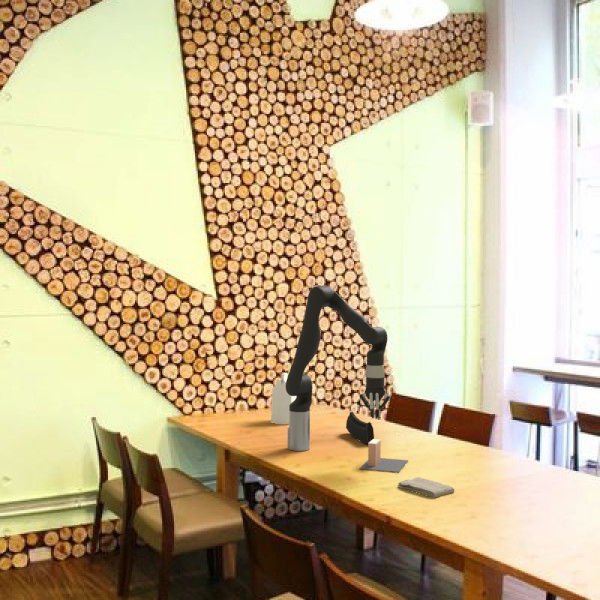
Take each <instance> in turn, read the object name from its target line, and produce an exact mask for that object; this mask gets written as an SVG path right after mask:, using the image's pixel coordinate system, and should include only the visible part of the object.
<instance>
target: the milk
mask: <svg viewBox="0 0 600 600" xmlns="http://www.w3.org/2000/svg"><path fill="white" fill-rule="evenodd" d="M288 374H289V372H284V373H281V378H280V379H278V380H277V382H276V384H275V385H274V386H273V388H272V391H271V411H270V412H271V413H270V414H271V416H270V424H271V423H275V424H274V425H286V424H289V405H290V404H291V403H292V402H293V401H294V400H295V399H296V397H297V396H290V395H289V394H288V393H287V391H286V380H287V377H288Z"/></svg>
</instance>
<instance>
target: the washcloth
mask: <svg viewBox="0 0 600 600" xmlns="http://www.w3.org/2000/svg"><path fill="white" fill-rule="evenodd" d="M397 487H398V488H399V489H401V488H403V489H402V490H404V489H407V490H408V492H411V491H413V492H412V493H414V492H415V494H418V493H420V494H419V495H421V494H424V495H423V496H425V495H427V496H426V497H428V496H429V497H428V498H431V497H432V498H431V499H434V498H435V497H436V498H438V497H439V498H440V497H441V495H442V496H445V494H446V495H450V494H453V493H454V492H455V488H454V487H453V486H450V485H448V484H444V483H442V482H438V481H434V480H429V479H427V478H423V477H421V476H420V477H418V476H417V477H414V478H412V479H405V480H401V481H399V482H398V484H397ZM407 490H406V491H407ZM416 492H417V493H416Z"/></svg>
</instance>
